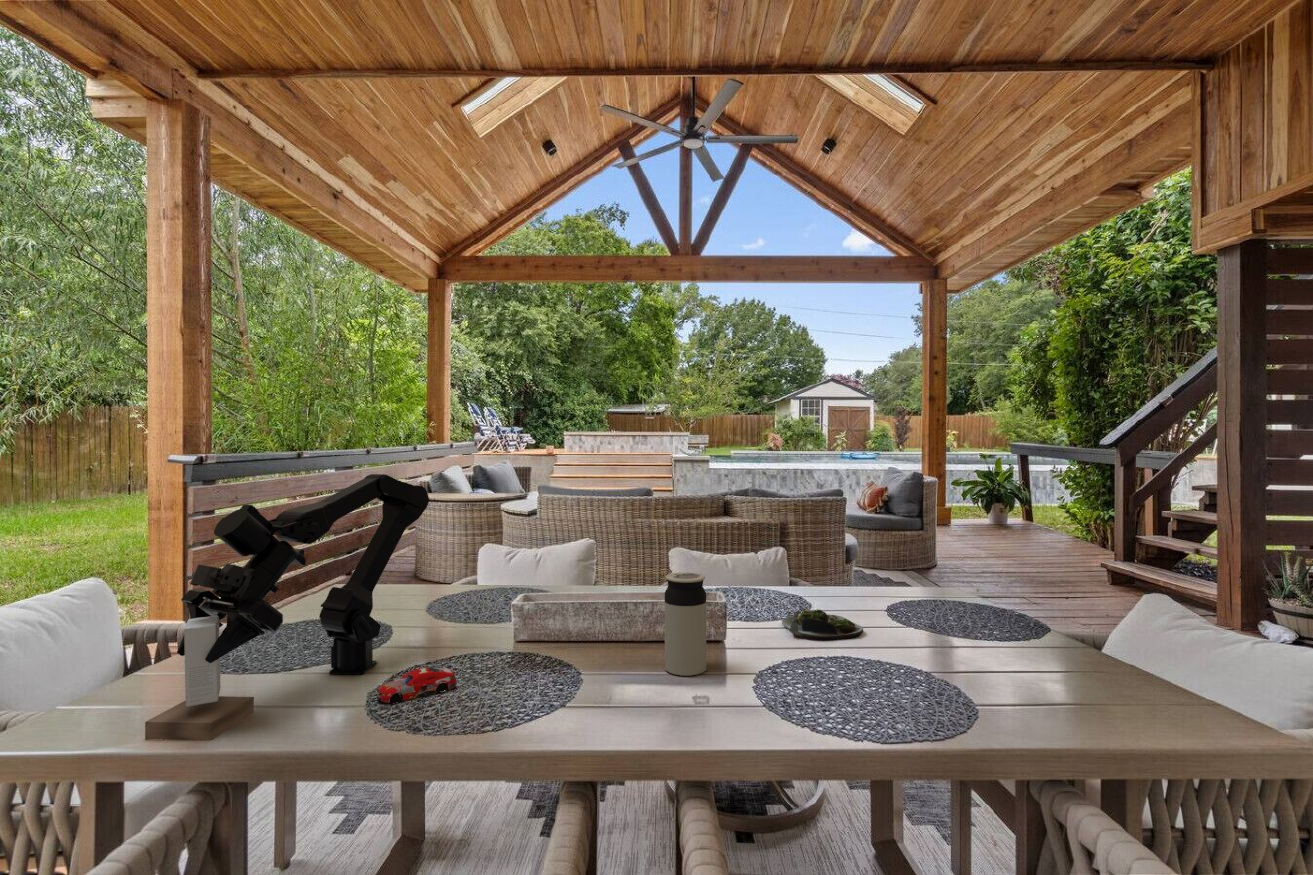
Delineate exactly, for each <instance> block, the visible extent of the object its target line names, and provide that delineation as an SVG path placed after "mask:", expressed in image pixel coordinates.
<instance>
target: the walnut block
mask: <svg viewBox="0 0 1313 875" xmlns="http://www.w3.org/2000/svg"><path fill="white" fill-rule="evenodd" d="M254 709H255V696H229V695H228V696H226V695H225V696H222V695H219V697H218V701H216V702H211V703H205V704H199V705H194V706H188V707H187V706H186V699H185V700H184V701H181V702H179V703H178V704H175V705H174V706H172V707H170V708H169V709H166V710H165V711H163V712H160V714H157V715H155V716H154V717H152V718H150V719H148V720H146V721H144V739H145V740H149V739H163V740H165V739H167V740H168V741H170V740H171V741H212V740H214V739H216V738H217V737H219V736H220V735H222V734H223V733H225V732H226V731H228V730H229V729H230V728H232V727H234V726H235V725H237V724H238V723H240V722H242V721H243V720H245V719H246V718H247V717H249V716H251V715H252V714H254V712H255V710H254ZM163 740H162V741H163ZM167 740H165V741H167Z"/></svg>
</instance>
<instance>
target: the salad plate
mask: <svg viewBox="0 0 1313 875" xmlns="http://www.w3.org/2000/svg"><path fill="white" fill-rule="evenodd" d="M781 624H782V625H783V627H785V628H786V629H787V630H789V631H790V632H791V633H792V634H793V635H794V636H796V637H798V638H800V639H804V640H808V641H809V640H810V641H814V642H815V641H816V642H834V641H847V640H853V639H857V638H860V636H861V635H863V633H864V627H863V626H862V625H859V624H857V623H855V622H853V621H851V620H850V619H848V618H846V617H843V616H842V615H841V616H840V615H836V614H827V612H826V611H824V610H821V609H819V608H817V609H814V610H809V609H808V608H806V609H804V610H803V612H802V611H800V610H796V611H793V616H787V617H784V618H782V619H781Z"/></svg>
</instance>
